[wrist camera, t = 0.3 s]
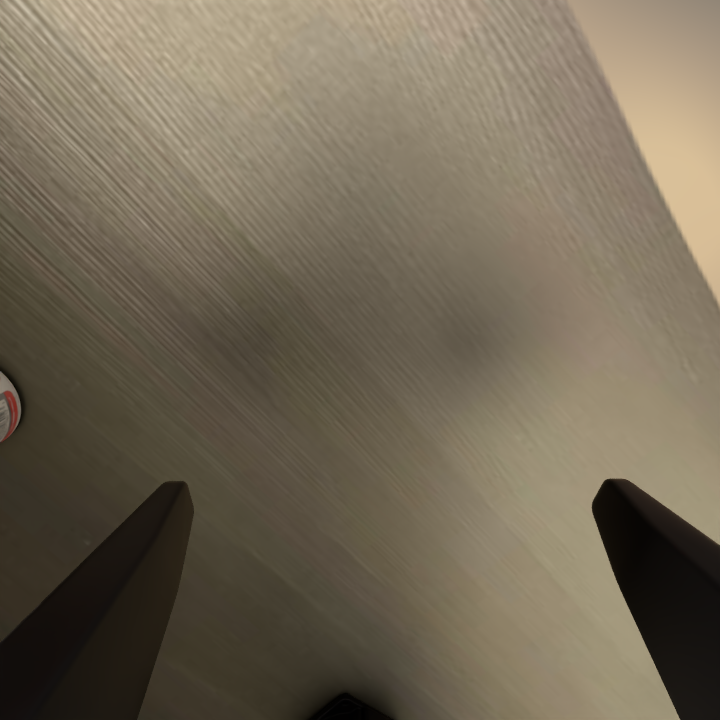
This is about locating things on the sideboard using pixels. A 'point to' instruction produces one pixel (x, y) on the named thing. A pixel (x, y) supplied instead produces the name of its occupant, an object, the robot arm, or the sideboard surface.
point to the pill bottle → (8, 408)
